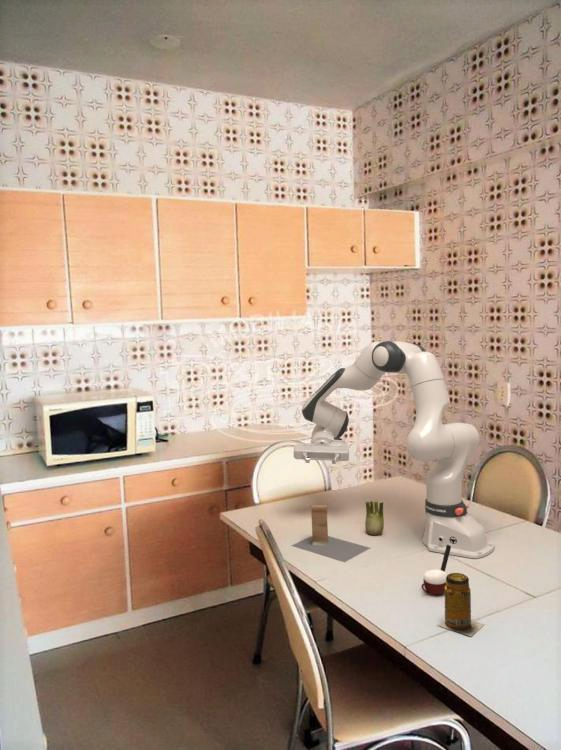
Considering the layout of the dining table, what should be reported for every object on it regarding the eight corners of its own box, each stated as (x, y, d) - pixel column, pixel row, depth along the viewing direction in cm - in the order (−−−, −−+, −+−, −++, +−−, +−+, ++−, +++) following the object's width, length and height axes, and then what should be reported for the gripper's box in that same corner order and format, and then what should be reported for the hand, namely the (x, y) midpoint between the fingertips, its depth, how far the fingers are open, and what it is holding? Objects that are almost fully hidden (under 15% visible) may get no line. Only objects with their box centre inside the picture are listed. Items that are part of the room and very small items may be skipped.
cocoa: (423, 599, 160) (421, 557, 158) (417, 588, 166) (414, 547, 164) (458, 596, 160) (456, 553, 159) (451, 584, 166) (449, 543, 165)
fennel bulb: (385, 534, 206) (384, 500, 205) (378, 539, 203) (377, 504, 201) (370, 531, 210) (369, 497, 209) (363, 535, 206) (362, 501, 205)
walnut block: (313, 539, 203) (311, 505, 202) (328, 539, 203) (326, 504, 202) (312, 545, 198) (311, 509, 197) (327, 545, 198) (326, 509, 197)
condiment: (452, 614, 151) (451, 568, 150) (484, 625, 145) (484, 577, 144) (437, 626, 146) (436, 578, 144) (470, 637, 140) (470, 588, 139)
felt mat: (370, 549, 194) (370, 547, 194) (344, 563, 184) (344, 562, 184) (318, 534, 209) (317, 533, 209) (291, 546, 199) (291, 545, 199)
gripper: (294, 437, 227) (291, 452, 214) (349, 439, 225) (349, 454, 212) (294, 452, 229) (291, 468, 216) (348, 454, 227) (348, 470, 214)
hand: (320, 461), depth 214 cm, fingers open, 8 cm apart
